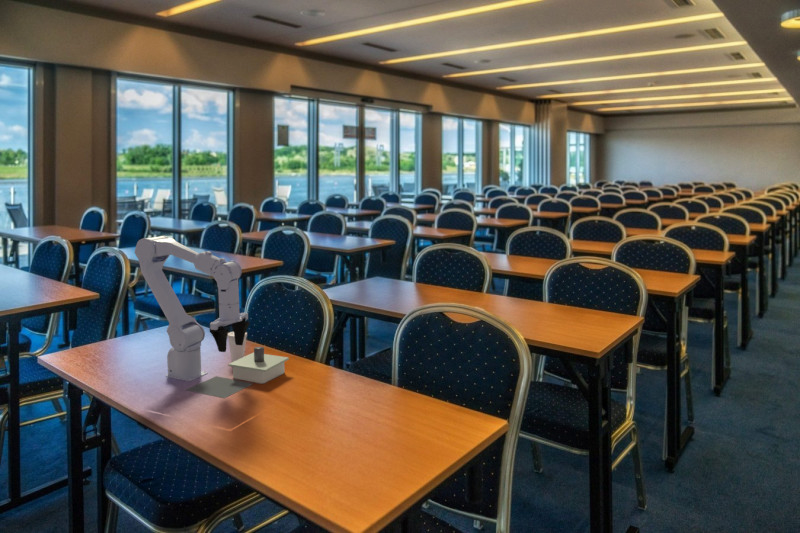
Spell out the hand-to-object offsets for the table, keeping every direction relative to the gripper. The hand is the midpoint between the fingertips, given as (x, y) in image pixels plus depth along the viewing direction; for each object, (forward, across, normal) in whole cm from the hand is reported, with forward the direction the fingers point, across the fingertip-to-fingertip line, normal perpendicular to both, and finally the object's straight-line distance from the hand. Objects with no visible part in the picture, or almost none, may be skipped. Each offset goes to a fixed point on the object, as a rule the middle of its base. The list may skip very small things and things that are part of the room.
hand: (230, 348), depth 177 cm
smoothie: (+10, +16, +11) cm, 22 cm away
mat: (+10, -6, 0) cm, 12 cm away
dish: (+10, +7, -4) cm, 13 cm away
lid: (+6, +7, -4) cm, 10 cm away
